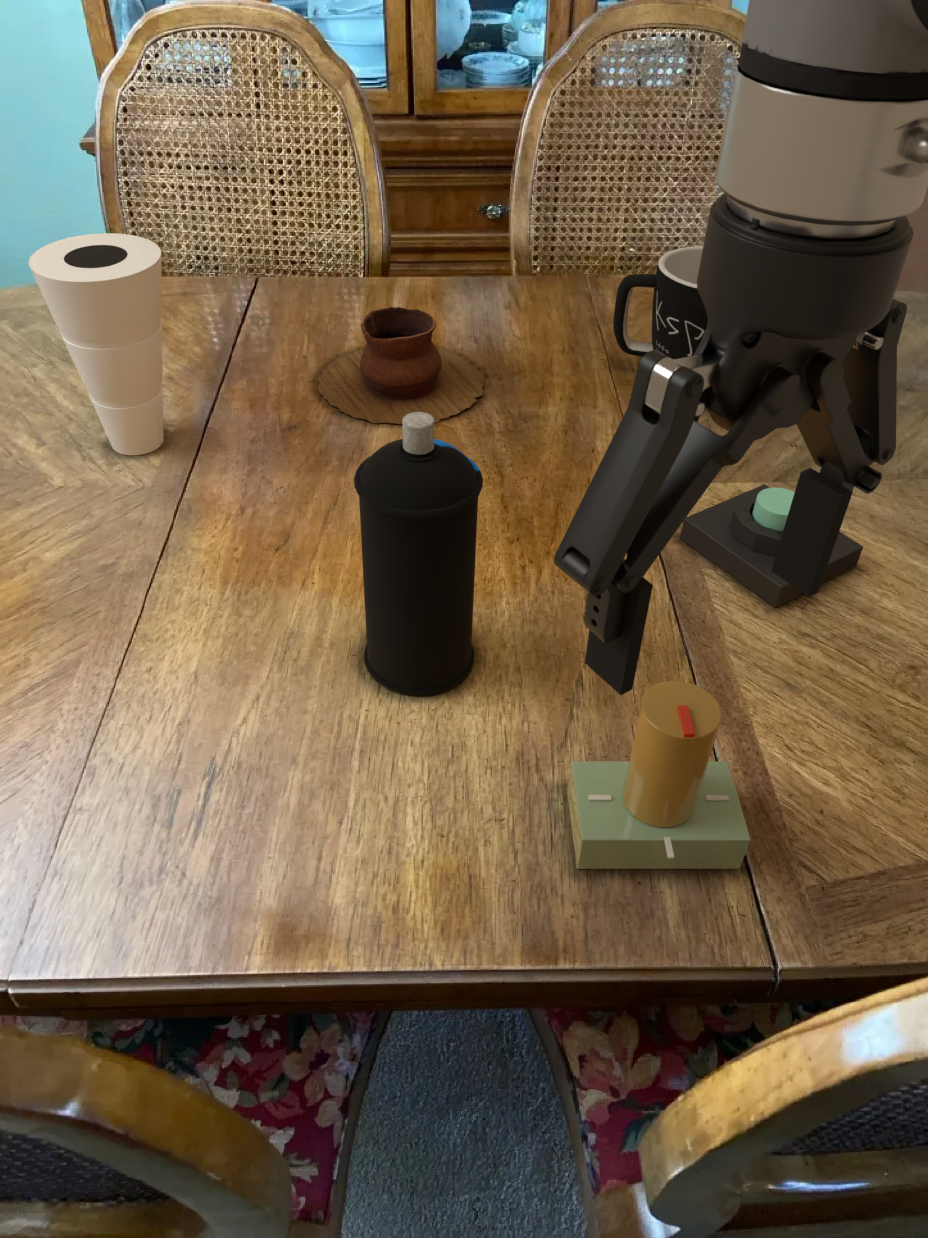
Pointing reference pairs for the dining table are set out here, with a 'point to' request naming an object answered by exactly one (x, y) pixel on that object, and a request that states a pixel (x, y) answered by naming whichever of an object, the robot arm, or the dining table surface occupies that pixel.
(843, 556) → the button base
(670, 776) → the dial
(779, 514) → the round green button
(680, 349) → the mug
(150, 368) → the cream tapered cylinder
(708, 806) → the dial panel
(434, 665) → the aerosol can
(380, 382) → the ceramic pot
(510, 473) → the dining table surface
